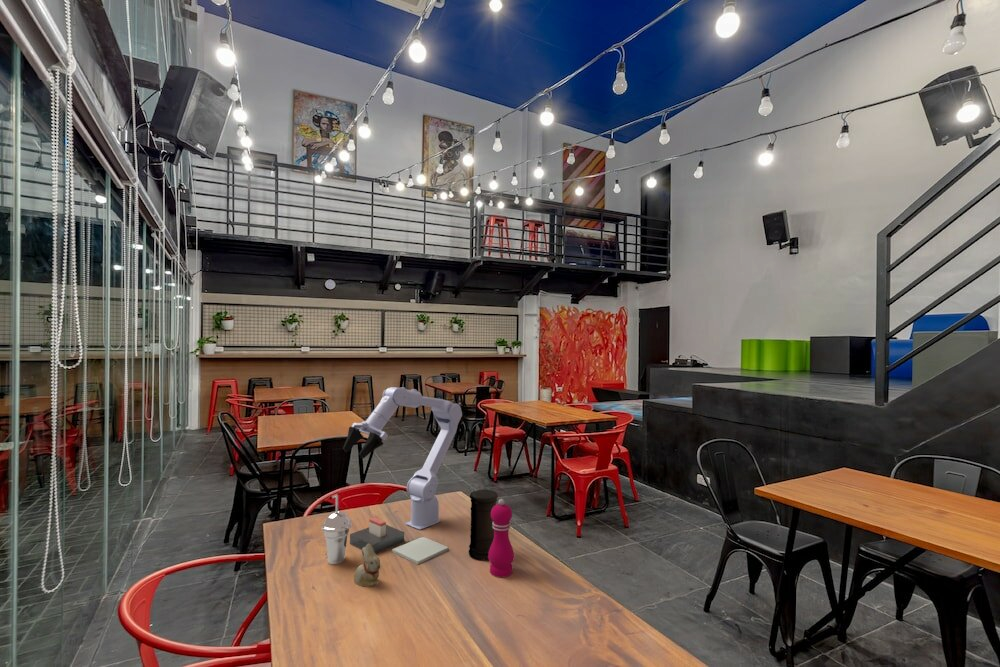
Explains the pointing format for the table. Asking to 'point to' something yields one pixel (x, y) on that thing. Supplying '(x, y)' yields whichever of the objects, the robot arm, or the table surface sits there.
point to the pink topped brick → (377, 527)
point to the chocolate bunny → (368, 568)
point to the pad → (420, 550)
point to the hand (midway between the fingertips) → (352, 453)
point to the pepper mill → (501, 541)
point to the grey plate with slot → (377, 539)
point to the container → (481, 523)
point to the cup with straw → (336, 534)
